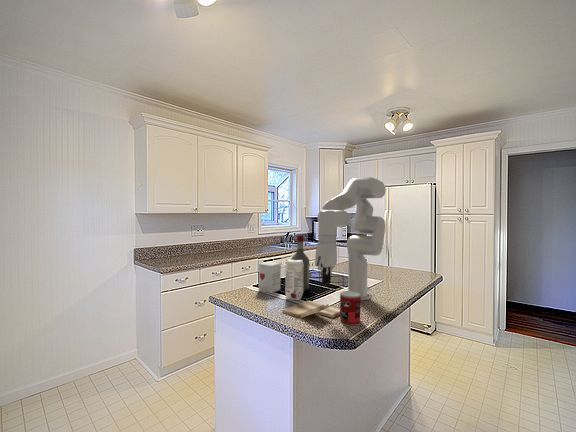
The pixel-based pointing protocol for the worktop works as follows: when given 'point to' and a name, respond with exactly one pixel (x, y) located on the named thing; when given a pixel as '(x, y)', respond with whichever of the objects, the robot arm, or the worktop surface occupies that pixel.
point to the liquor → (304, 258)
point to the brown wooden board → (302, 308)
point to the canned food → (350, 307)
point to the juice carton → (294, 279)
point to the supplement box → (269, 277)
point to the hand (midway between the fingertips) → (326, 283)
